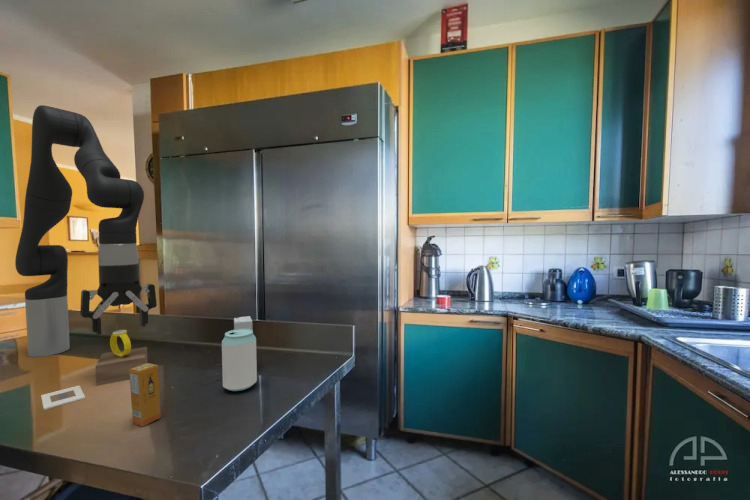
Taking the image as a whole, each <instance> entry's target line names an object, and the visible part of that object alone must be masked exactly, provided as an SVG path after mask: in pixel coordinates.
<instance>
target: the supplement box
mask: <svg viewBox="0 0 750 500" xmlns="http://www.w3.org/2000/svg"><path fill="white" fill-rule="evenodd" d="M129 375H130V380H129V386H130V387H129V388H130V400H131V401H130V402H131V417H132V423H133V424H134V425H137V426H139V427H145V426H147V425H149V424H151V423H153V422H154V421H157V420H159V419H161V416H162V415H161V413H162V412H161V400H160V397H161V396H160V383H159V380H160V379H159V365H158V364H153V363H148V362H147V363H146V364H143V365H140V366H137V367H135V368H132V369H129Z"/></svg>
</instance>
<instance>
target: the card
mask: <svg viewBox="0 0 750 500" xmlns="http://www.w3.org/2000/svg"><path fill="white" fill-rule="evenodd" d="M40 399H41V404H42V408H43V411H46V410H49V409H53V408H57V407H60V406H65V405H66V404H70V403H73V402H74V403H76V402H78V401H82V400H85V399H86V396H85V394H84V392H83V390H82V388H81V386H80V384H79V385H76V386H71V387H67V388H64V389H60V390H56V391H52V392H48V393H44V394H41V395H40Z"/></svg>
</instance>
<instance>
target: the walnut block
mask: <svg viewBox="0 0 750 500" xmlns="http://www.w3.org/2000/svg"><path fill="white" fill-rule="evenodd" d="M120 351H121V352H123V353H124V349H123V350H120ZM146 363H148V347H147V346H144V347H143V346H142V347H137V348H131V351H130V353H129V354H128V355H127V356H124V357H120V356H117V355H114V353H113V352H112V351H109V352H103V353H101V355H100V357H99V359H98V360H97V363H96V364H95V383H96V384H95V385H96V387H97V386H104V385H108V384H113V383H114V384H115V383H119V382H124V381H130V375H129V369H132V368H135V367H137V366H140V365H143V364H146Z"/></svg>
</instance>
